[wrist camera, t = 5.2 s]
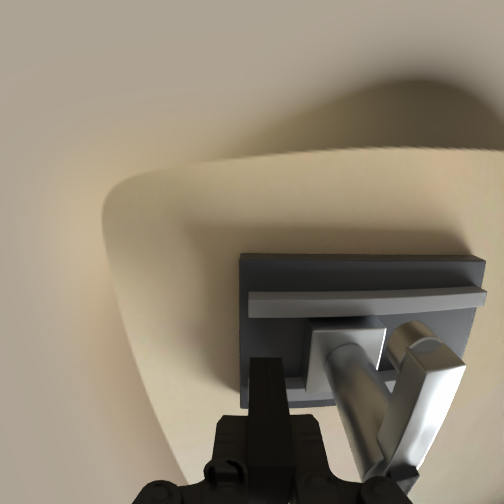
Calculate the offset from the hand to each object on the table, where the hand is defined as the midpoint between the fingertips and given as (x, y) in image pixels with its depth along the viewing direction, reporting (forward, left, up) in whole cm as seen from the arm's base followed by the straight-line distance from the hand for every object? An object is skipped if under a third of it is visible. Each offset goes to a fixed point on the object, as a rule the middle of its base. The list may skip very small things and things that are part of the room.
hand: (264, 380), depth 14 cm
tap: (-1, +4, -3) cm, 5 cm away
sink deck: (0, +7, -5) cm, 8 cm away
